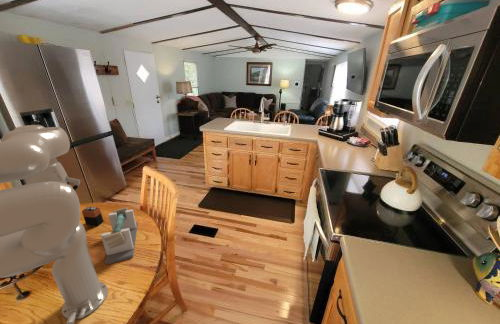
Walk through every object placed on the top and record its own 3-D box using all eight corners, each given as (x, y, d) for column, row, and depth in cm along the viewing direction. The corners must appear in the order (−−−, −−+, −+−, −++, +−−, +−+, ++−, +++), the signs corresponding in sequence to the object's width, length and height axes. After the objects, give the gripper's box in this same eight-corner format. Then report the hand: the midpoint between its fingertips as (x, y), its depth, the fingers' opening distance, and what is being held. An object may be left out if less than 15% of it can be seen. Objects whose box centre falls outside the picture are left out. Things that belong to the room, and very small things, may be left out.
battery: (97, 226, 107) (92, 210, 103) (85, 225, 107) (80, 209, 104) (104, 221, 111) (99, 205, 107) (92, 220, 111) (87, 204, 108)
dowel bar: (125, 243, 87) (120, 232, 85) (109, 248, 85) (103, 238, 83) (130, 216, 104) (126, 206, 102) (117, 220, 103) (113, 210, 100)
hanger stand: (133, 257, 89) (127, 235, 84) (105, 264, 85) (98, 242, 81) (137, 224, 109) (133, 205, 105) (116, 228, 106) (110, 209, 101)
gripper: (0, 168, 64) (21, 214, 70) (69, 162, 70) (82, 204, 77) (14, 160, 70) (32, 202, 77) (76, 155, 77) (88, 194, 83)
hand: (57, 203), depth 77 cm, fingers open, 9 cm apart
